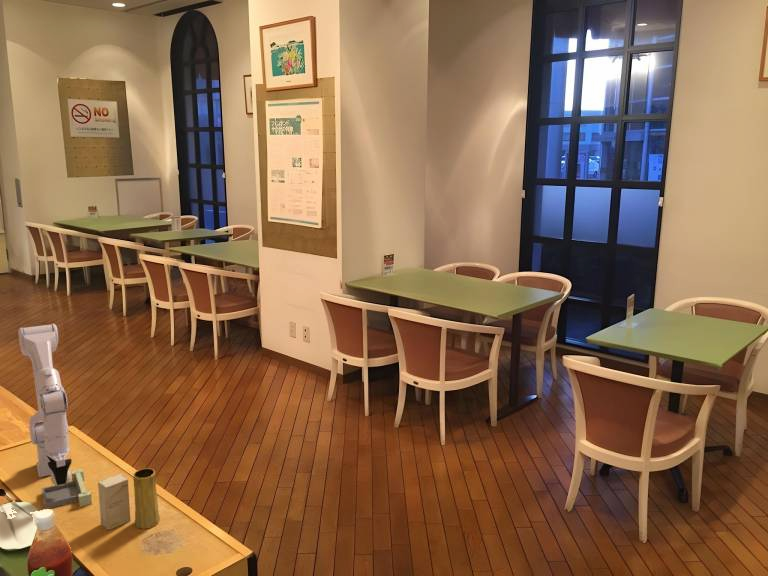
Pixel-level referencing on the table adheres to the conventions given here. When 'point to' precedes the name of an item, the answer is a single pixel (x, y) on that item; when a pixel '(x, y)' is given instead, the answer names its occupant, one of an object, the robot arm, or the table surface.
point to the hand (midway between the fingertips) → (60, 479)
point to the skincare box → (114, 501)
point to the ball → (55, 480)
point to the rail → (81, 488)
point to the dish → (61, 494)
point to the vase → (145, 499)
